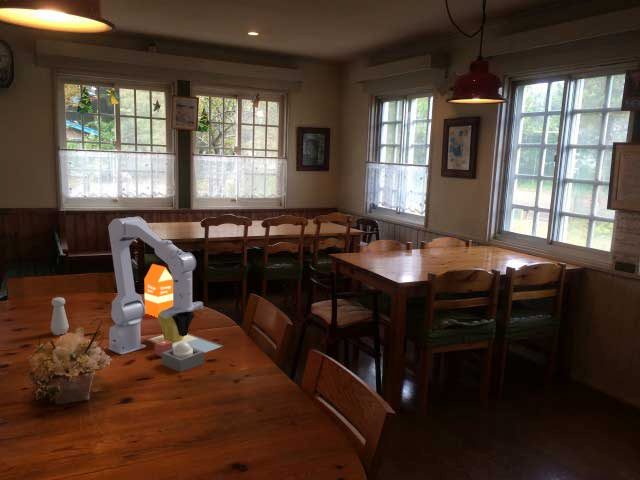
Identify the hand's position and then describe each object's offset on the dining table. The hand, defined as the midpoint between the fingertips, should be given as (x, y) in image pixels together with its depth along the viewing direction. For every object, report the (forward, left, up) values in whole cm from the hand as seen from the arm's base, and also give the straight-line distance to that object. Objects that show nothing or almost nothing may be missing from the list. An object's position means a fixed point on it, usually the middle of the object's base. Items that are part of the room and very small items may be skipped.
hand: (182, 335), depth 166 cm
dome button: (0, 0, -7) cm, 7 cm away
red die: (+1, +11, -9) cm, 15 cm away
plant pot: (+12, +20, -10) cm, 25 cm away
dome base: (0, 0, -9) cm, 9 cm away
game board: (+12, +14, -9) cm, 21 cm away
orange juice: (+27, +48, -10) cm, 56 cm away
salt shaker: (-11, +54, -10) cm, 56 cm away
